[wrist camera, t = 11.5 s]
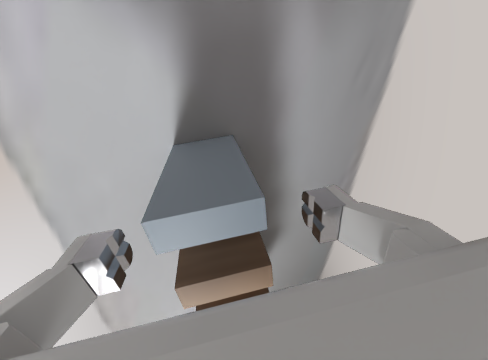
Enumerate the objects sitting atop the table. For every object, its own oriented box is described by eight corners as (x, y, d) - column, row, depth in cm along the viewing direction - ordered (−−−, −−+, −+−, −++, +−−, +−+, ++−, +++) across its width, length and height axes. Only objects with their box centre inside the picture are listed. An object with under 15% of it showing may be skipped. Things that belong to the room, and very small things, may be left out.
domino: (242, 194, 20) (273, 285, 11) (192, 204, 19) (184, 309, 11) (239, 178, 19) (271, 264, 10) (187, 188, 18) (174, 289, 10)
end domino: (173, 145, 16) (141, 222, 8) (232, 135, 17) (264, 197, 8) (179, 164, 17) (156, 254, 8) (235, 154, 18) (267, 229, 9)
